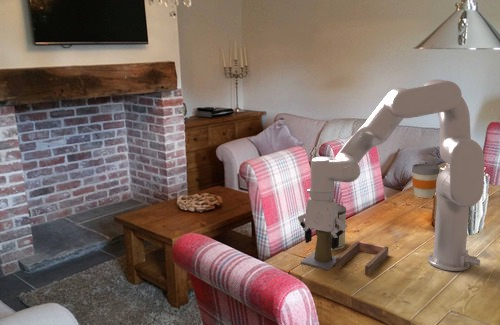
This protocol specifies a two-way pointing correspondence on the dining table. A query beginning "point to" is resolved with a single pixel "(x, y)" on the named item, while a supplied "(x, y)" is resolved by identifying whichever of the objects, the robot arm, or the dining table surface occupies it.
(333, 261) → the coaster
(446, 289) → the dining table surface
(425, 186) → the reusable coffee cup
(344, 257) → the brown u-shaped frame
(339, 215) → the coffee can
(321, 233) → the tan hourglass shape
